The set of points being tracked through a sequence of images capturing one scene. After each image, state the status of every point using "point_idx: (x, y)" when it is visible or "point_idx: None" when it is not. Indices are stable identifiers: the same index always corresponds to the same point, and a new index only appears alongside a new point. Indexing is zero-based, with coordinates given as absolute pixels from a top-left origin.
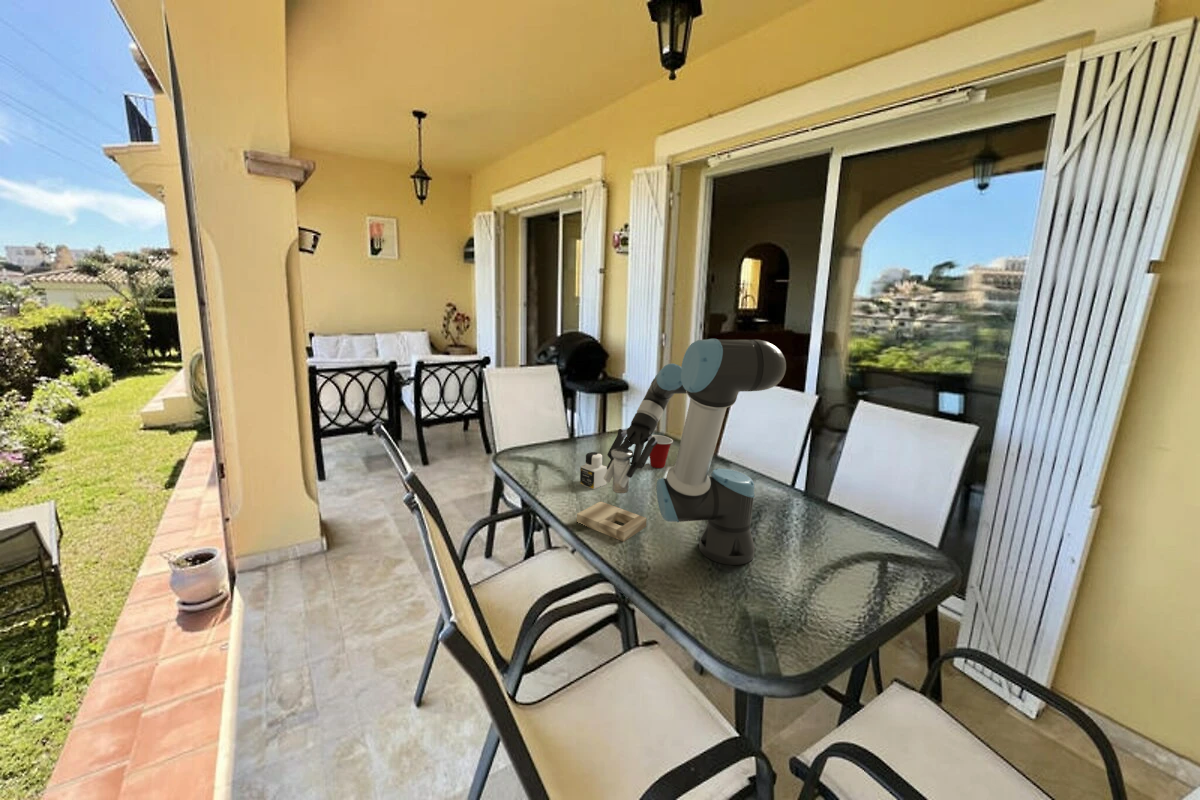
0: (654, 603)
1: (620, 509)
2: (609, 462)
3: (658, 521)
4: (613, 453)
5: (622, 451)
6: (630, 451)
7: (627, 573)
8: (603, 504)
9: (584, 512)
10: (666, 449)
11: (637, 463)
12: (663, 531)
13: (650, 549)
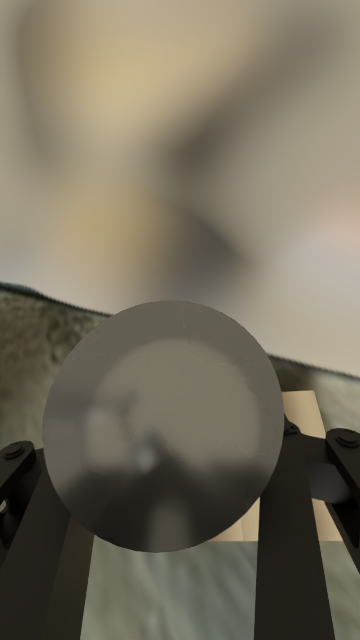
0: (16, 293)
1: (244, 532)
2: (284, 413)
3: (125, 621)
4: (192, 305)
5: (161, 407)
6: (87, 480)
7: (81, 320)
8: (321, 521)
9: (306, 413)
10: None
11: (28, 445)
12: None
13: None
